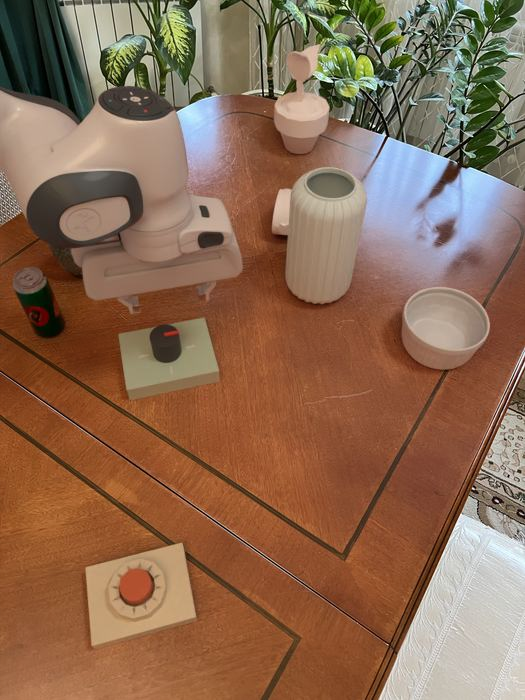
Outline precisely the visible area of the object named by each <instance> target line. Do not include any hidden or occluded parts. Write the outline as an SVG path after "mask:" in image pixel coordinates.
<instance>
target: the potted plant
mask: <svg viewBox="0 0 525 700" xmlns="http://www.w3.org/2000/svg"><path fill="white" fill-rule="evenodd" d="M321 50H322V41H320V42H319V43H318V44H315V45H312V46H308V47H307V48H305V49H304V50H302V51H301V52H300V51H297V50H294V51H292V52H290V53H288V54H287V57H286V62H285V63H286V65H287V67H288V70H289V74H290V76H291V78H292V79H293V80H295V81H296V82H295V83H296V91H293V92H287V93H286V94H284V95H281V96H279V97H278V98H277V100H276V101H275V103H274V105H273V123H274V125H275V128H276V130H277V131H278V132H280V136H281V139H282V142H283V145H284V148H285V150H286V151H288V152H289V153H291V154H295V155H305V154H308V153H310V152H312V151H313V149H314V147H315V145H316V143H317V141H318V138H319V136H320V135H321V134H323V133H325V132H326V129H327V128H328V124H329V118H330V117H329V116H330V105H329V103H328V101H327V99H326V98H324V97H322V96H321V95H319V94H317V93H313V92H307V91H305V84H304V83H305V82H306V81H307V80H308V79H310V78H311V77H312V75H314V74H315V72H316V71H317V70H318V61H319V58H320V57H321V56H320V55H321ZM324 67H325V66H324V64H322V67H321V69H324Z"/></svg>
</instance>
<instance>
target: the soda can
mask: <svg viewBox="0 0 525 700" xmlns="http://www.w3.org/2000/svg"><path fill="white" fill-rule="evenodd" d="M12 288H13V290H14V292H15V295H16V297H17V299H18V301H19V303H20V305H21V308H22V310H23V312H24V313H25V316H26V318H27V320H28V322H29V324H30V326H31V328H32V331H33V332H34V334H35V335H36V336H37V337H40V338H43V339H50V338H54V337H57V336H59V334H61V333H62V332H63V331H64V328H65V326H66V321H65V319H64V316H63V314H62V311H61V309H60V306H59V304H58V300H57V299H56V297H55V293H54V292H53V289H52V287H51V284H50V281H49V279H48V277H47V274H45V273H44V272H42V270H41V269H39V268H37V267H32V266H31V267H30V266H29V267H24V268H22V269H20V270H18V271H17V272H16V273H15V274H14V276H13V278H12Z"/></svg>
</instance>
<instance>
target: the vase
mask: <svg viewBox="0 0 525 700" xmlns="http://www.w3.org/2000/svg"><path fill="white" fill-rule="evenodd" d="M367 196H368V195H367V191H366V188H365V187H364V185H363V183H362V182H361V181H360V180H359V179H358V178H357V177H356V176H355V175H353V174H352V173H350V172H349V171H347V170H345V169H342V168H339V167H332V166H323V167H318V168H315V169H313V170H309V171H307V172H306V173H304V174H302V175H301V176H300V177H299V178H298V179H297V180H296V181H295V182H294V184H293V186H292V191H291V197H290V212H289V227H288V235H287V243H286V259H285V272H284V273H285V275H284V277H285V283H286V285H287V287H288V289H289V291H291V293H292V295H294V296H296V297H297V298H298V299H299V300H301V301H304V302H305V303H311V304H313V305H316V304H319V305H324V304H331V303H333V302H335V301H338V300H339V299H340V298H341V297H343V296H345V295H346V293H347V291H349V289H350V287H351V283H352V280H353V275H354V274H353V273H354V269H355V263H356V261H357V260H356V258H357V255H358V251H359V250H358V249H359V245H360V239H361V234H362V230H363V224H364V218H365V214H366V209H367V203H368V197H367Z"/></svg>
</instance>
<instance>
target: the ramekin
mask: <svg viewBox="0 0 525 700" xmlns="http://www.w3.org/2000/svg"><path fill="white" fill-rule="evenodd" d="M401 319H402V324H401V342H402V345H403V347H404V348H405V351H406V352H407V354H408V355H409V356H410V357H411V358H412V359H413V360H414V361H416V362H417V363H418V364H420V365H422V366H424V367H427V368H429V369H434V370H439V371H441V370H442V371H443V370H446V371H447V370H453V369H456V368H459V367H462V366H464V365H465V364H466V363H467V362H468V361H469V360H470V359H472V357H473V356H474V354H475V353H476V352H477V351H478V349H480V348H481V347H482V346H483V345H484V344H485V342H486V340H487V338H488V336H489V334H490V328H491V323H490V318H489V315H488V313H487V311H486V309H485V308H484V307H483V305H482V304H481V303H480V302H479V301H478V300H477V299H476V298H474V297H473V296H472V295H470V294H468V293H466V292H464V291H462V290H460V289H456V288H452V287H446V286H432V287H431V286H430V287H427V288H423V289H420V290H418V291H416V292H415V293H413V294H412V295H411V296H409V298H408V299H407V301H406V302H405V304H404V306H403V309H402V314H401Z"/></svg>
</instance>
